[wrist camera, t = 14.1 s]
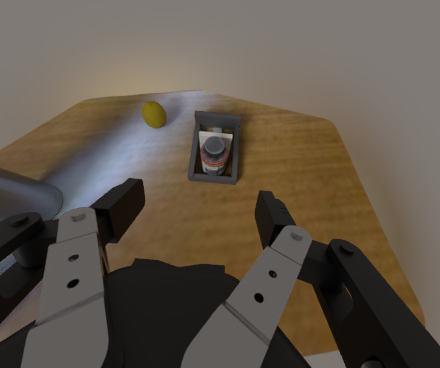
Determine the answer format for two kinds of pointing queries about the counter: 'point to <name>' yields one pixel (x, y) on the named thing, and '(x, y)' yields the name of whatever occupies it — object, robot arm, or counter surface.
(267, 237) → the robot arm
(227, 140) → the plate
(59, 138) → the counter surface
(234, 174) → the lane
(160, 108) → the lemon
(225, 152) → the supplement bottle
